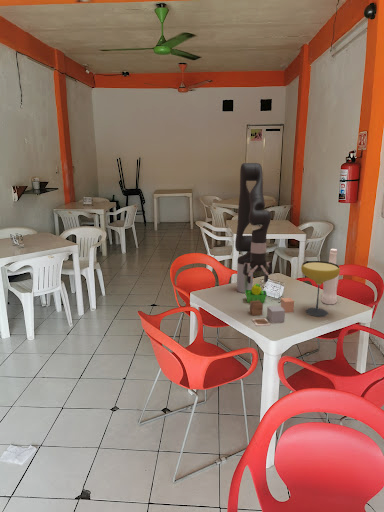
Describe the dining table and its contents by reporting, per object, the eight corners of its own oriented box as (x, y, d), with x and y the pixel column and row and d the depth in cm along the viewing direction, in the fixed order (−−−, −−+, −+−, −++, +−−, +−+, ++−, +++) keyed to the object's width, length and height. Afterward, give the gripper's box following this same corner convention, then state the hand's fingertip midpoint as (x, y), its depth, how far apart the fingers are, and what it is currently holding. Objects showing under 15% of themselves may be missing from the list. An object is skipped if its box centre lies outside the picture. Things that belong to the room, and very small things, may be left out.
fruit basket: (265, 298, 218) (266, 279, 215) (266, 304, 209) (267, 285, 206) (244, 298, 219) (245, 279, 216) (245, 304, 210) (246, 284, 207)
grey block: (266, 317, 193) (267, 306, 191) (279, 316, 194) (279, 305, 192) (271, 323, 187) (272, 311, 185) (284, 322, 188) (285, 310, 186)
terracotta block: (280, 309, 203) (281, 298, 202) (289, 308, 204) (290, 297, 203) (284, 312, 199) (284, 301, 197) (293, 312, 199) (294, 301, 198)
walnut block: (249, 312, 200) (250, 301, 198) (259, 311, 201) (259, 300, 199) (252, 315, 195) (253, 304, 194) (262, 315, 196) (262, 304, 194)
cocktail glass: (302, 319, 190) (306, 270, 184) (295, 305, 208) (298, 260, 202) (340, 320, 189) (345, 271, 183) (329, 306, 207) (333, 260, 200)
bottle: (317, 301, 214) (322, 248, 206) (328, 298, 217) (333, 246, 210) (329, 306, 207) (333, 251, 199) (339, 303, 210) (345, 249, 203)
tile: (251, 320, 190) (252, 318, 190) (265, 319, 191) (265, 317, 191) (256, 326, 183) (256, 324, 183) (270, 325, 184) (270, 323, 184)
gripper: (269, 248, 194) (268, 279, 198) (242, 249, 192) (241, 281, 196) (275, 252, 187) (273, 284, 191) (246, 253, 185) (245, 285, 189)
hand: (257, 282), depth 194 cm, fingers open, 8 cm apart
